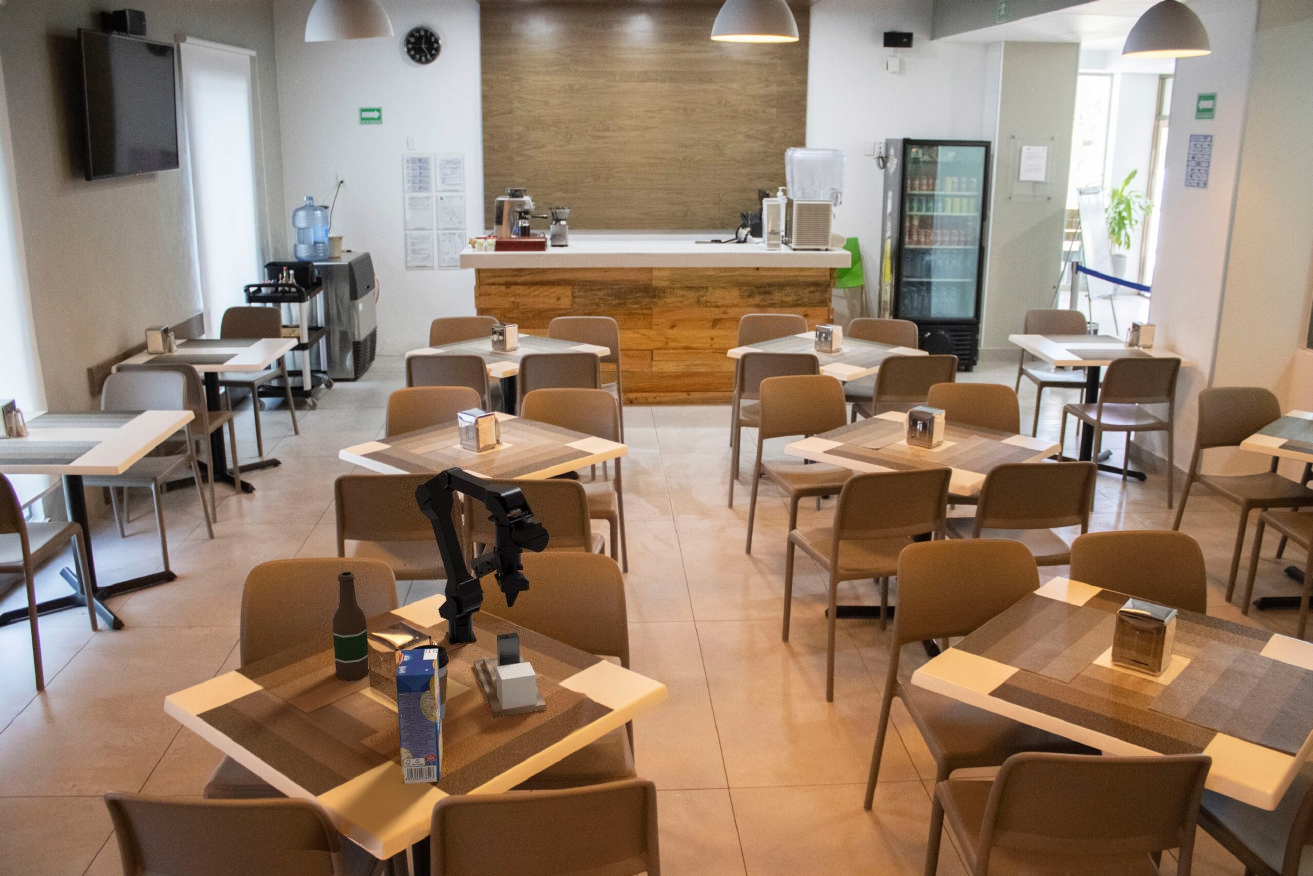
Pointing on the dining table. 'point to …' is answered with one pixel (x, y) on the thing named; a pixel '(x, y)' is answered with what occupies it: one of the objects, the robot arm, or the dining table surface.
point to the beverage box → (419, 715)
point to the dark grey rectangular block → (508, 649)
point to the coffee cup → (440, 673)
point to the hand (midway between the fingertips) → (509, 606)
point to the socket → (516, 685)
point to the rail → (489, 684)
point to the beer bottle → (350, 633)
